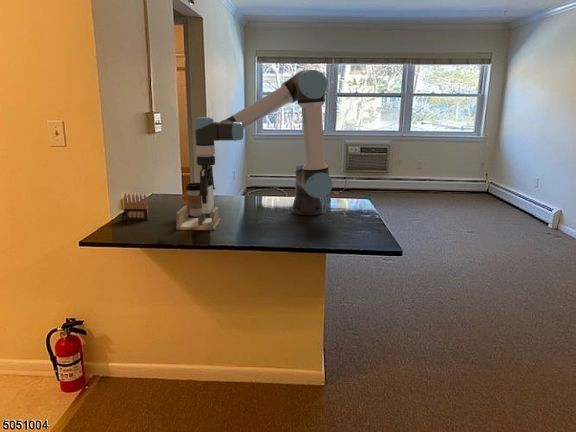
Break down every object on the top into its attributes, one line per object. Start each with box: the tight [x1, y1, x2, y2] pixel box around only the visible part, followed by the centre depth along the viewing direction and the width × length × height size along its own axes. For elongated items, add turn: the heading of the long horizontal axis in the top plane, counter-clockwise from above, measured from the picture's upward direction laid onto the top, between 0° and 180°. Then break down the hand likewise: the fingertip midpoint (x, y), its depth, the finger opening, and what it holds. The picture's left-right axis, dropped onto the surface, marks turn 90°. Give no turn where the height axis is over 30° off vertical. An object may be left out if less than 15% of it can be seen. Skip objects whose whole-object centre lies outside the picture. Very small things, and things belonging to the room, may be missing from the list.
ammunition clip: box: [123, 193, 150, 221], centre depth 198 cm, size 11×2×12 cm, turn 88°
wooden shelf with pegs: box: [175, 205, 221, 231], centre depth 190 cm, size 16×14×7 cm
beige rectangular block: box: [202, 185, 215, 215], centre depth 187 cm, size 3×10×10 cm, turn 178°
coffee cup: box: [185, 182, 202, 217], centre depth 205 cm, size 8×8×15 cm
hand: (208, 207), depth 188 cm, fingers closed on beige rectangular block, 10 cm apart
